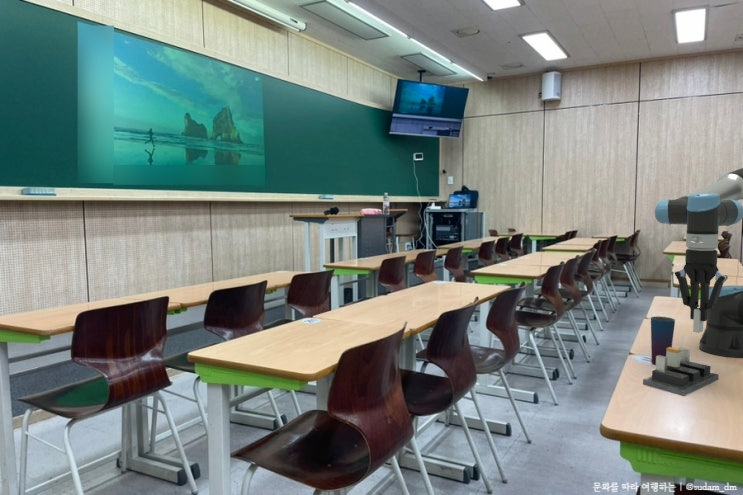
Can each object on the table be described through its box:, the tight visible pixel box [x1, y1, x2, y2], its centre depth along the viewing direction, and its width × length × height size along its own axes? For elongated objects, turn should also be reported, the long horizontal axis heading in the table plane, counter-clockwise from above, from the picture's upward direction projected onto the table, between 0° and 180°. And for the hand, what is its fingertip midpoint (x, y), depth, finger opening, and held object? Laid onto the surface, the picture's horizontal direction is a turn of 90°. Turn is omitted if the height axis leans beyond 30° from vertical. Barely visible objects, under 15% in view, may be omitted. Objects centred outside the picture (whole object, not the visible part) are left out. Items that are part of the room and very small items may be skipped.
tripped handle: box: [666, 346, 681, 368], centre depth 152 cm, size 2×3×5 cm
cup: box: [650, 315, 676, 366], centre depth 167 cm, size 7×7×15 cm
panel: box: [642, 346, 720, 397], centre depth 151 cm, size 22×11×8 cm, turn 126°
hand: (698, 331), depth 147 cm, fingers closed
